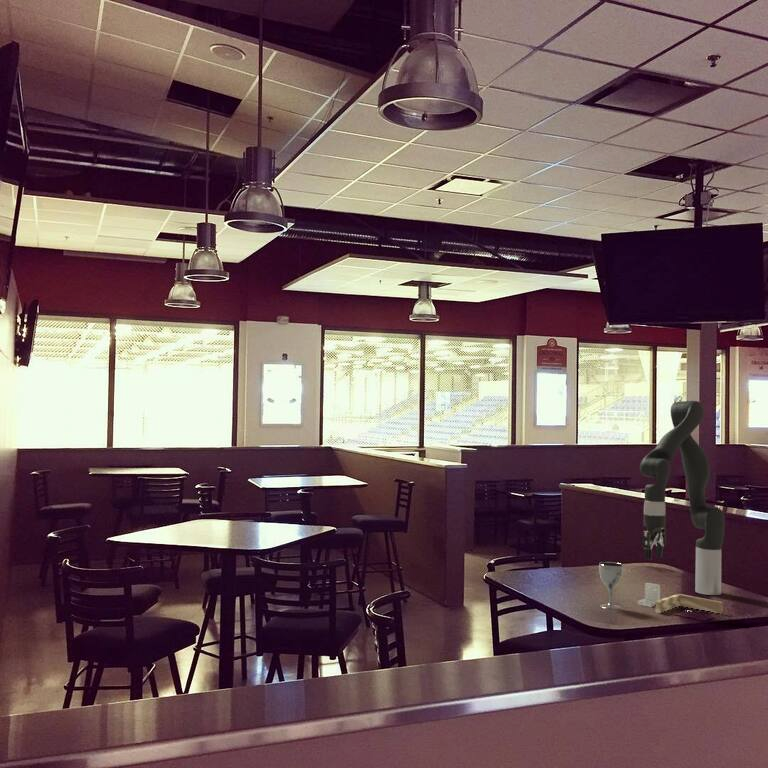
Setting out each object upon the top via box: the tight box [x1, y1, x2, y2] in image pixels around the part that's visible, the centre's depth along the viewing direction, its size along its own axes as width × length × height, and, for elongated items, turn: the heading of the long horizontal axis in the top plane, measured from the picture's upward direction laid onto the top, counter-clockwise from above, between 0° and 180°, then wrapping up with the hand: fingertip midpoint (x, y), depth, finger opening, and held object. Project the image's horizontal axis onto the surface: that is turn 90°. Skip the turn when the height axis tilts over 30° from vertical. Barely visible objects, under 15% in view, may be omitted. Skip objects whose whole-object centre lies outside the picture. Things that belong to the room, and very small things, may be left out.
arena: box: [654, 593, 724, 615], centre depth 268 cm, size 18×16×4 cm
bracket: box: [637, 582, 661, 608], centre depth 280 cm, size 7×5×7 cm
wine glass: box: [598, 561, 624, 610], centre depth 274 cm, size 8×8×15 cm
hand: (653, 558), depth 282 cm, fingers open, 8 cm apart
